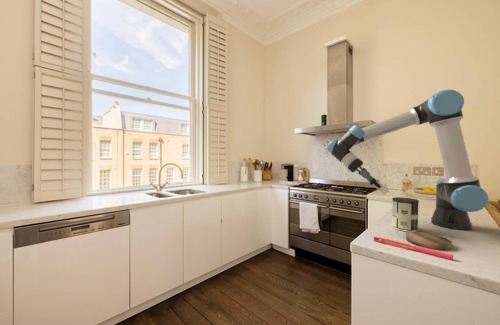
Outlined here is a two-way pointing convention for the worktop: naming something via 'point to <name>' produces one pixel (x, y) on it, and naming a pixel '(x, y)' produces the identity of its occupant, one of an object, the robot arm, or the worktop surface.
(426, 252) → the chopstick
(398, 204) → the coffee can
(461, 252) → the worktop surface
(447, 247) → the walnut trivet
